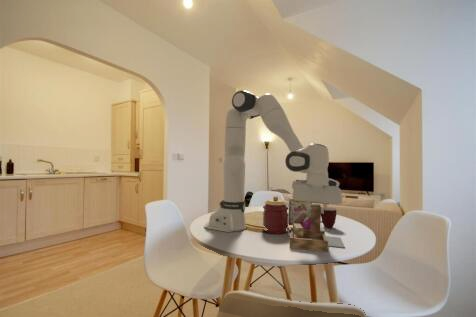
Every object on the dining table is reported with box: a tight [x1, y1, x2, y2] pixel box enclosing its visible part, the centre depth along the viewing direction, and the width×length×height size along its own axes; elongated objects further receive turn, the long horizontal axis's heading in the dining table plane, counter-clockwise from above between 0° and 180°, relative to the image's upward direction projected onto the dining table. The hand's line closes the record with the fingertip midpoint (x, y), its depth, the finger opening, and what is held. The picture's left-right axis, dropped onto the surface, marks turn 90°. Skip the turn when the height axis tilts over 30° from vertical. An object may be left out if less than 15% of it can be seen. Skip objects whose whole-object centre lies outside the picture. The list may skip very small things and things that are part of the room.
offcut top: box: [293, 223, 303, 236], centre depth 99 cm, size 3×7×4 cm, turn 177°
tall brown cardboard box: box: [311, 202, 322, 233], centre depth 97 cm, size 4×10×10 cm, turn 163°
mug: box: [321, 207, 337, 229], centre depth 124 cm, size 10×8×10 cm
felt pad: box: [325, 235, 346, 249], centre depth 100 cm, size 7×13×1 cm, turn 164°
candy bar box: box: [288, 197, 313, 230], centre depth 118 cm, size 11×5×16 cm, turn 84°
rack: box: [289, 228, 329, 253], centre depth 98 cm, size 15×15×4 cm
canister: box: [262, 195, 289, 235], centre depth 117 cm, size 13×13×18 cm
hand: (315, 212), depth 97 cm, fingers closed on tall brown cardboard box, 3 cm apart
